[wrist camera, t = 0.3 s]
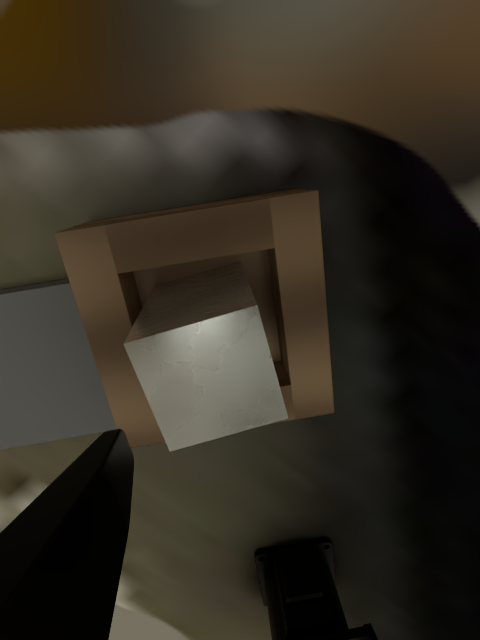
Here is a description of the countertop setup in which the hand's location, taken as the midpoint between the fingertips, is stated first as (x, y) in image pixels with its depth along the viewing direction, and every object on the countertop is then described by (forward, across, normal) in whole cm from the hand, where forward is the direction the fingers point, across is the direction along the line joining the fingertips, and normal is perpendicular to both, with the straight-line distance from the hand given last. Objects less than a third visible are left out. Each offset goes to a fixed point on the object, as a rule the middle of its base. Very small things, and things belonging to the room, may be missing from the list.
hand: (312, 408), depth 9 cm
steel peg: (+13, +3, +2) cm, 14 cm away
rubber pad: (+15, +15, +4) cm, 21 cm away
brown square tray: (+15, +3, +3) cm, 15 cm away
